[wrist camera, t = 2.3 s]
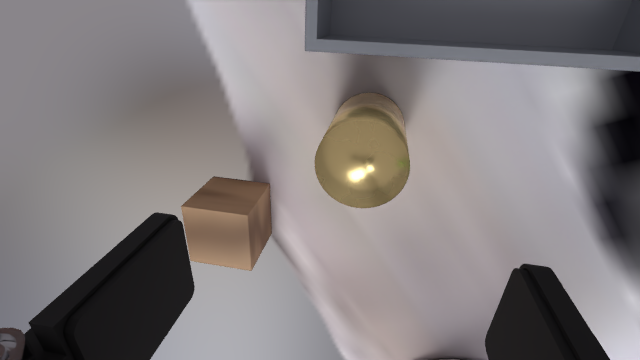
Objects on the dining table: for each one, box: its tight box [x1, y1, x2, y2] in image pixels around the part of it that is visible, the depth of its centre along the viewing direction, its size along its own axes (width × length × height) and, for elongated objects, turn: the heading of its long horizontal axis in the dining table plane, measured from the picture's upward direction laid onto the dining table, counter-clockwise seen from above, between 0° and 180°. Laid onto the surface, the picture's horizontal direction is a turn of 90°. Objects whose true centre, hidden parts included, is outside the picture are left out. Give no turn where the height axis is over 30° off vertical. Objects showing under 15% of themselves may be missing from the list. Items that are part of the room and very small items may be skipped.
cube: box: [181, 176, 272, 271], centre depth 27 cm, size 5×5×5 cm
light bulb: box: [315, 93, 410, 208], centre depth 21 cm, size 5×5×7 cm
